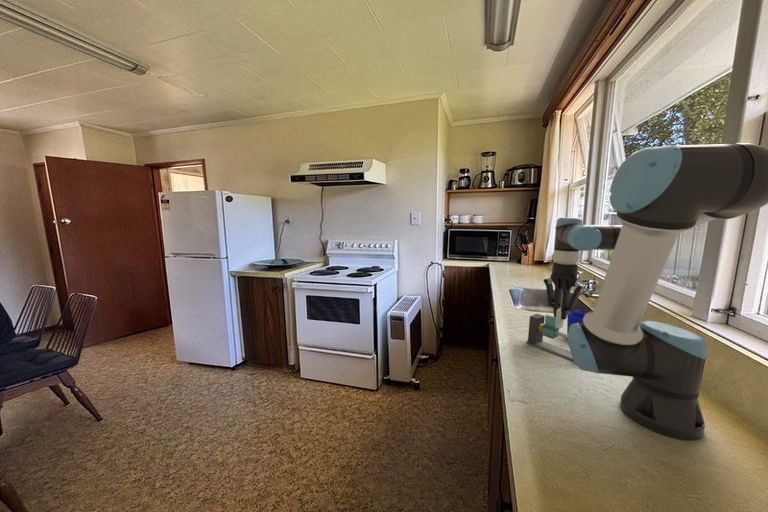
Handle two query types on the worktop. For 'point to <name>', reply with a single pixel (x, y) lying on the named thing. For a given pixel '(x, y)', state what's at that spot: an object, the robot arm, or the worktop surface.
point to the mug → (574, 318)
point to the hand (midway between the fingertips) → (559, 326)
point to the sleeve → (549, 327)
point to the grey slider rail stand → (537, 337)
